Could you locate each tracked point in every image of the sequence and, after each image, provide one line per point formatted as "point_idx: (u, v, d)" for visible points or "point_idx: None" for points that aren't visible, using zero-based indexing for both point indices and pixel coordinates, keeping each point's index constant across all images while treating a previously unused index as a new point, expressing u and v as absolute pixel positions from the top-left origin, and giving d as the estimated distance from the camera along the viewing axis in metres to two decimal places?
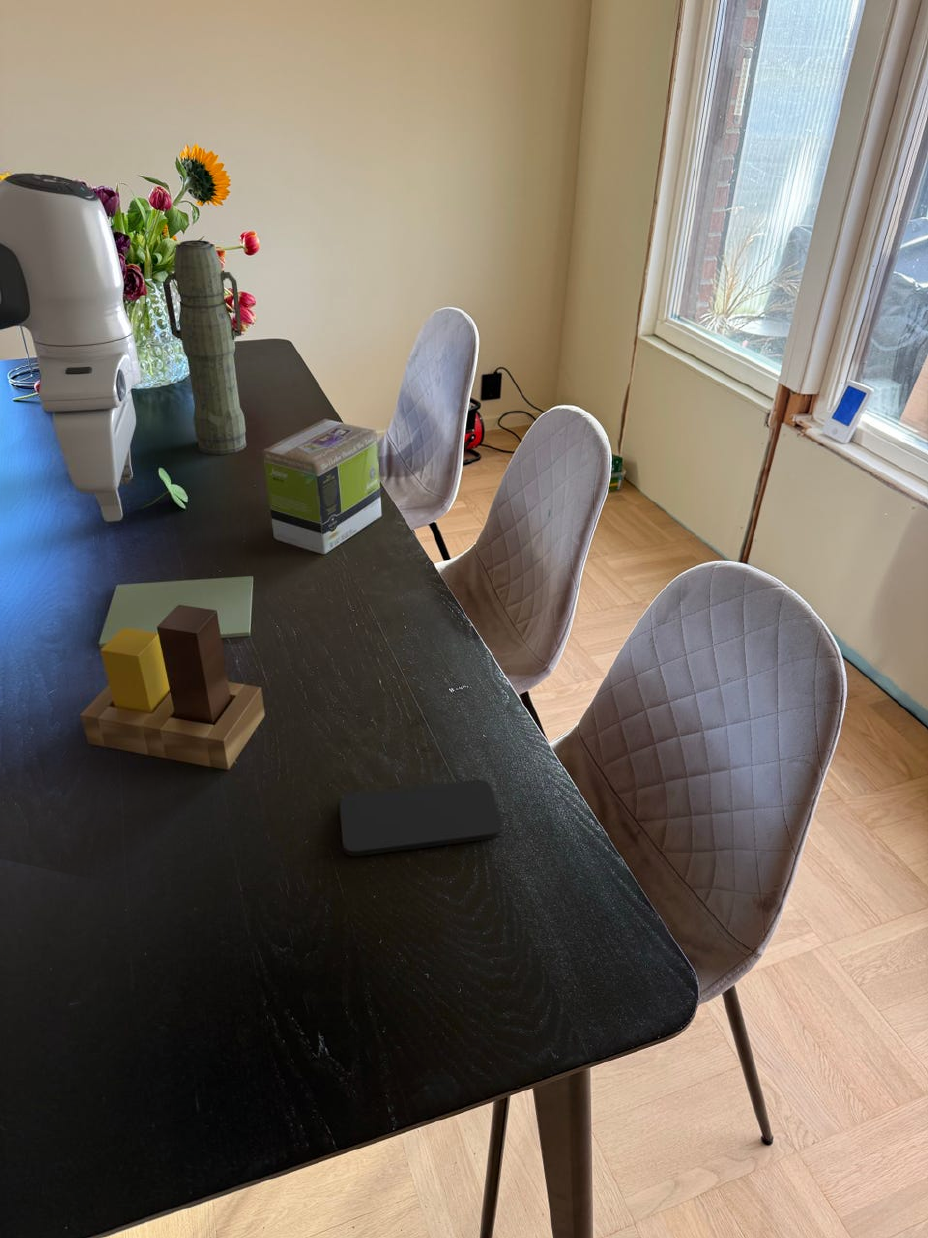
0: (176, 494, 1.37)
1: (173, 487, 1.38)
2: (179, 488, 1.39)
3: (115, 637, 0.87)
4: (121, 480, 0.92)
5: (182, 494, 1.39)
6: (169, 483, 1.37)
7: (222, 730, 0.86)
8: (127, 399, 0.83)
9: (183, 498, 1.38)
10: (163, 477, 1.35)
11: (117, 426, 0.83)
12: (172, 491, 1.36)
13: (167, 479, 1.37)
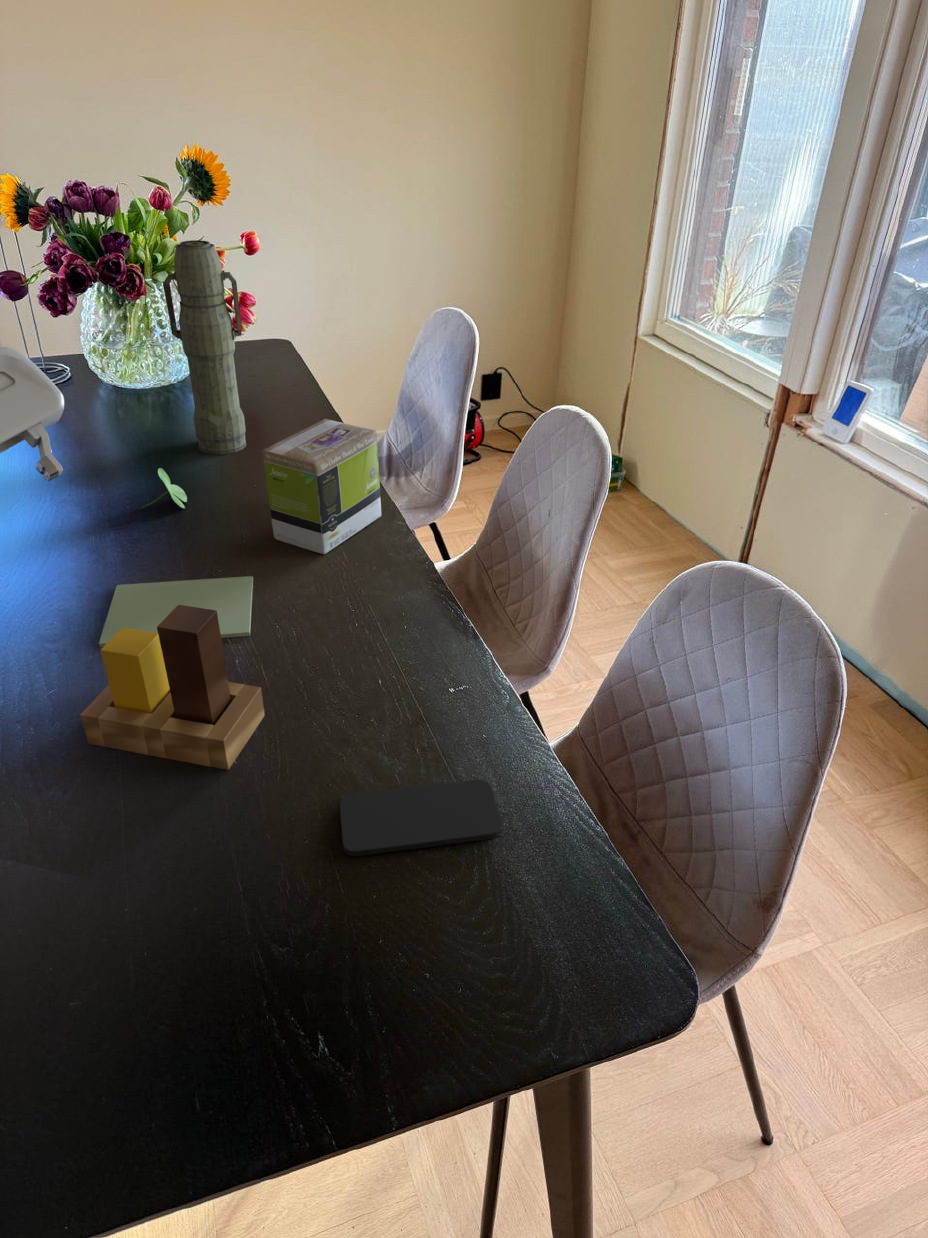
0: (175, 494, 1.37)
1: (172, 487, 1.38)
2: (178, 488, 1.39)
3: (115, 637, 0.87)
4: None
5: (182, 494, 1.39)
6: (168, 483, 1.37)
7: (222, 730, 0.86)
8: None
9: (182, 498, 1.38)
10: (162, 477, 1.35)
11: None
12: (171, 491, 1.36)
13: (166, 479, 1.36)
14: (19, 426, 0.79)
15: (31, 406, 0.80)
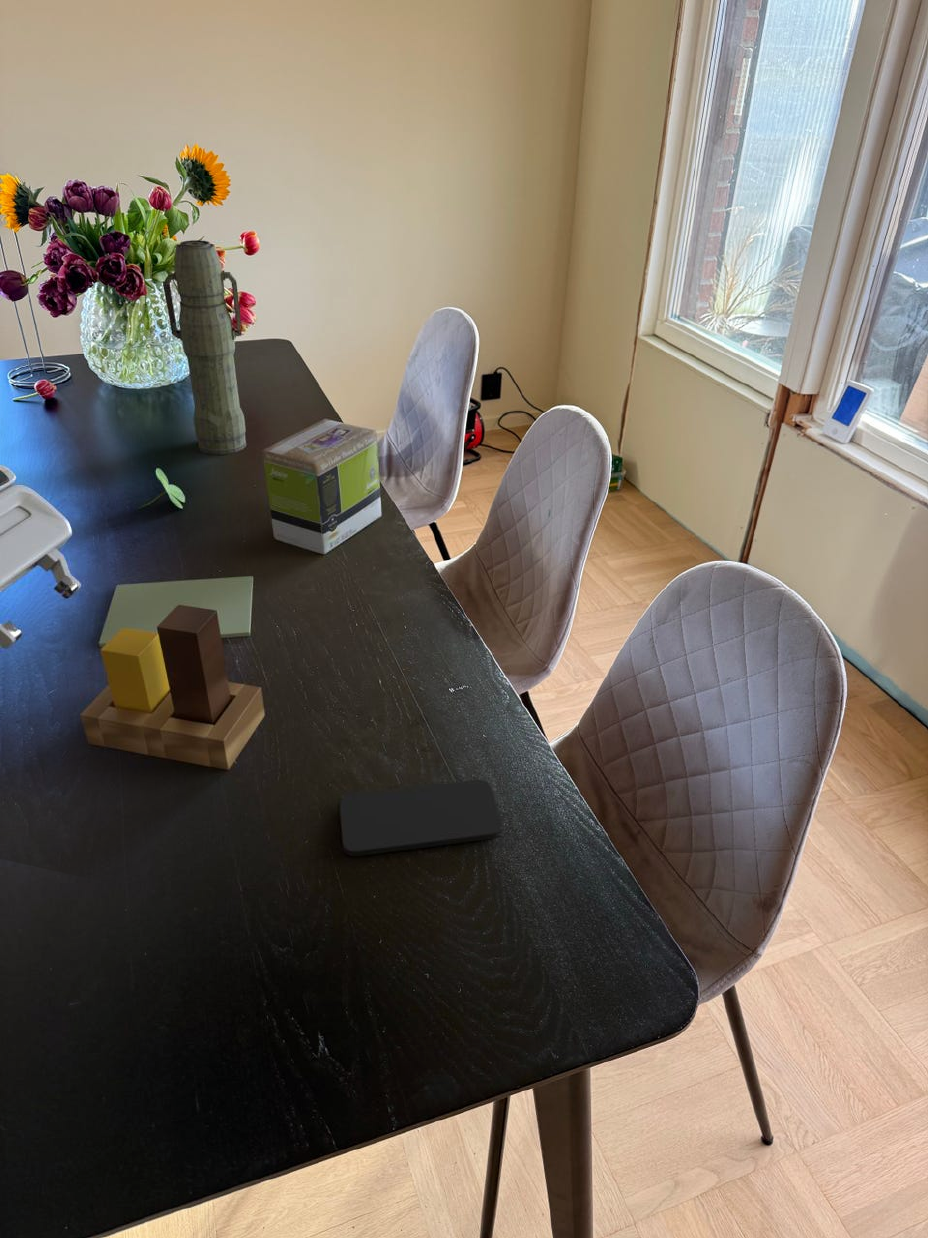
0: (173, 494, 1.37)
1: (170, 487, 1.38)
2: (176, 488, 1.39)
3: (115, 637, 0.87)
4: None
5: (180, 494, 1.39)
6: (166, 483, 1.37)
7: (222, 730, 0.86)
8: None
9: (180, 498, 1.38)
10: (160, 477, 1.35)
11: None
12: (169, 491, 1.36)
13: (164, 479, 1.36)
14: (43, 550, 0.88)
15: (48, 533, 0.89)
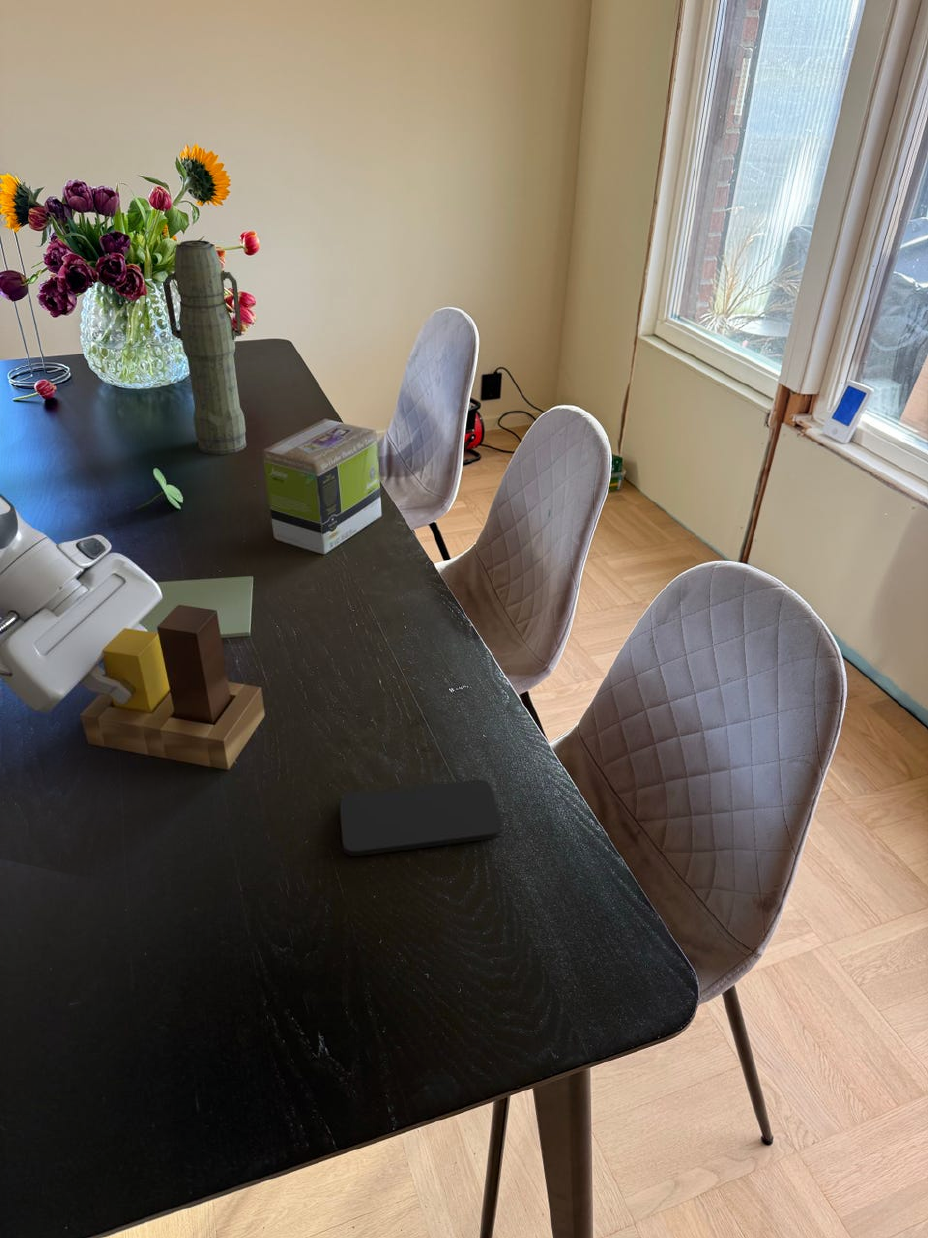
0: (171, 494, 1.37)
1: (168, 487, 1.37)
2: (174, 488, 1.39)
3: (115, 637, 0.87)
4: None
5: (177, 494, 1.39)
6: (164, 483, 1.37)
7: (222, 730, 0.86)
8: None
9: (178, 498, 1.38)
10: (158, 477, 1.35)
11: None
12: (167, 492, 1.36)
13: (162, 479, 1.36)
14: (139, 617, 0.91)
15: (142, 599, 0.92)
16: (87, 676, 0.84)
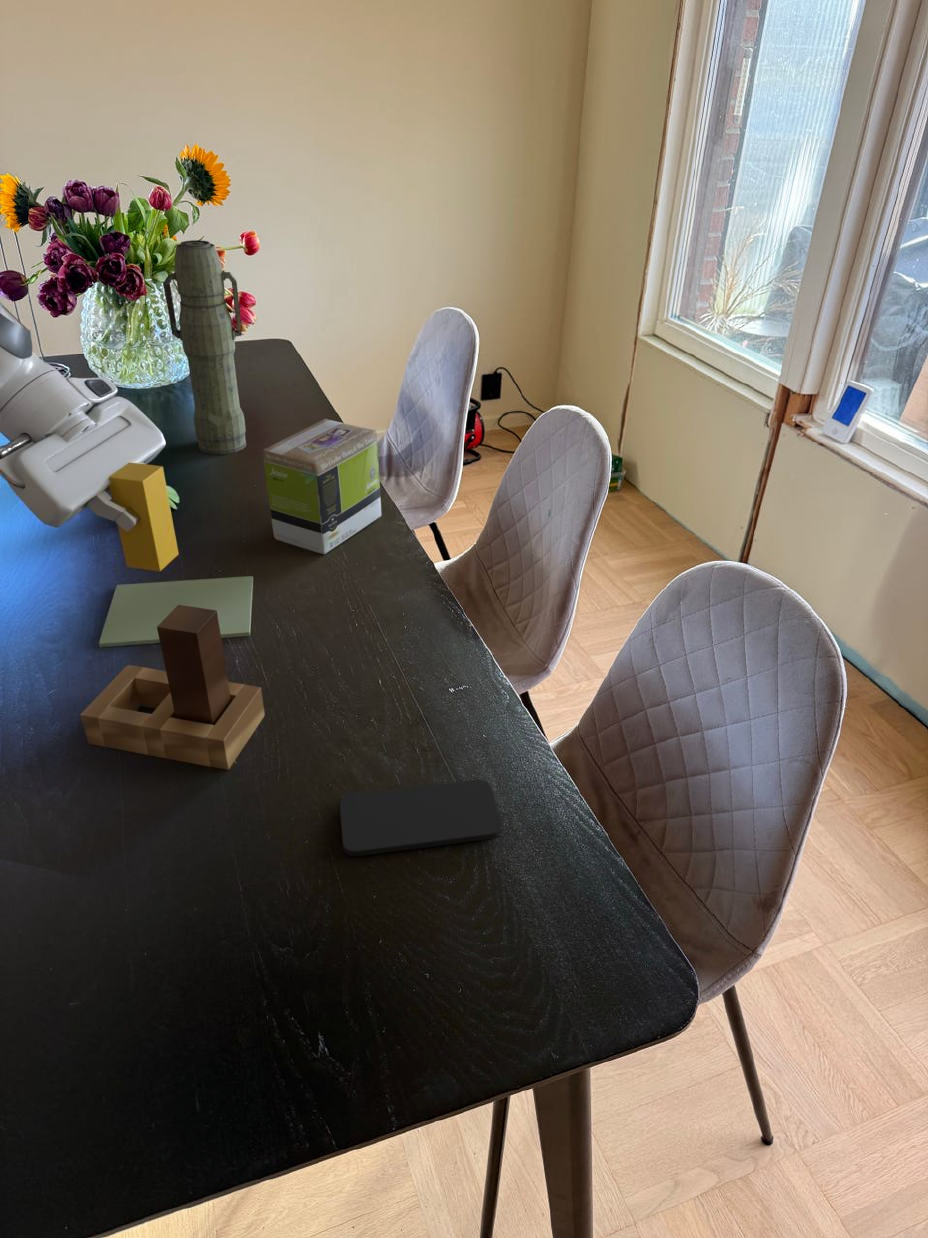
0: None
1: None
2: (171, 489, 1.39)
3: (121, 468, 0.92)
4: None
5: (174, 495, 1.39)
6: None
7: (222, 730, 0.86)
8: None
9: (175, 499, 1.38)
10: None
11: None
12: None
13: None
14: (143, 456, 0.96)
15: (146, 441, 0.98)
16: (95, 499, 0.89)
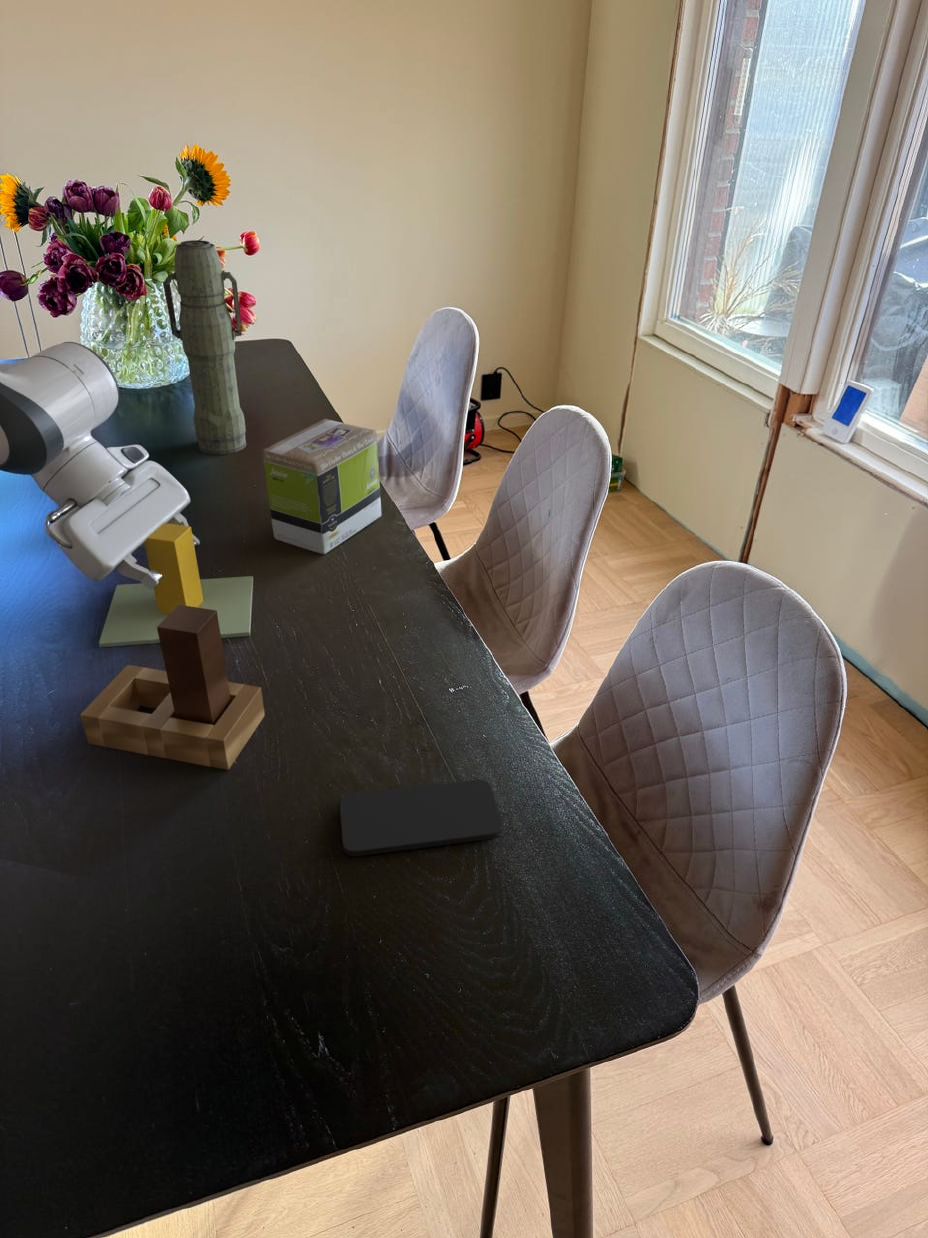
0: None
1: None
2: None
3: None
4: None
5: None
6: None
7: (222, 730, 0.86)
8: None
9: None
10: None
11: None
12: None
13: None
14: (171, 513, 1.09)
15: (174, 500, 1.10)
16: (122, 563, 1.01)
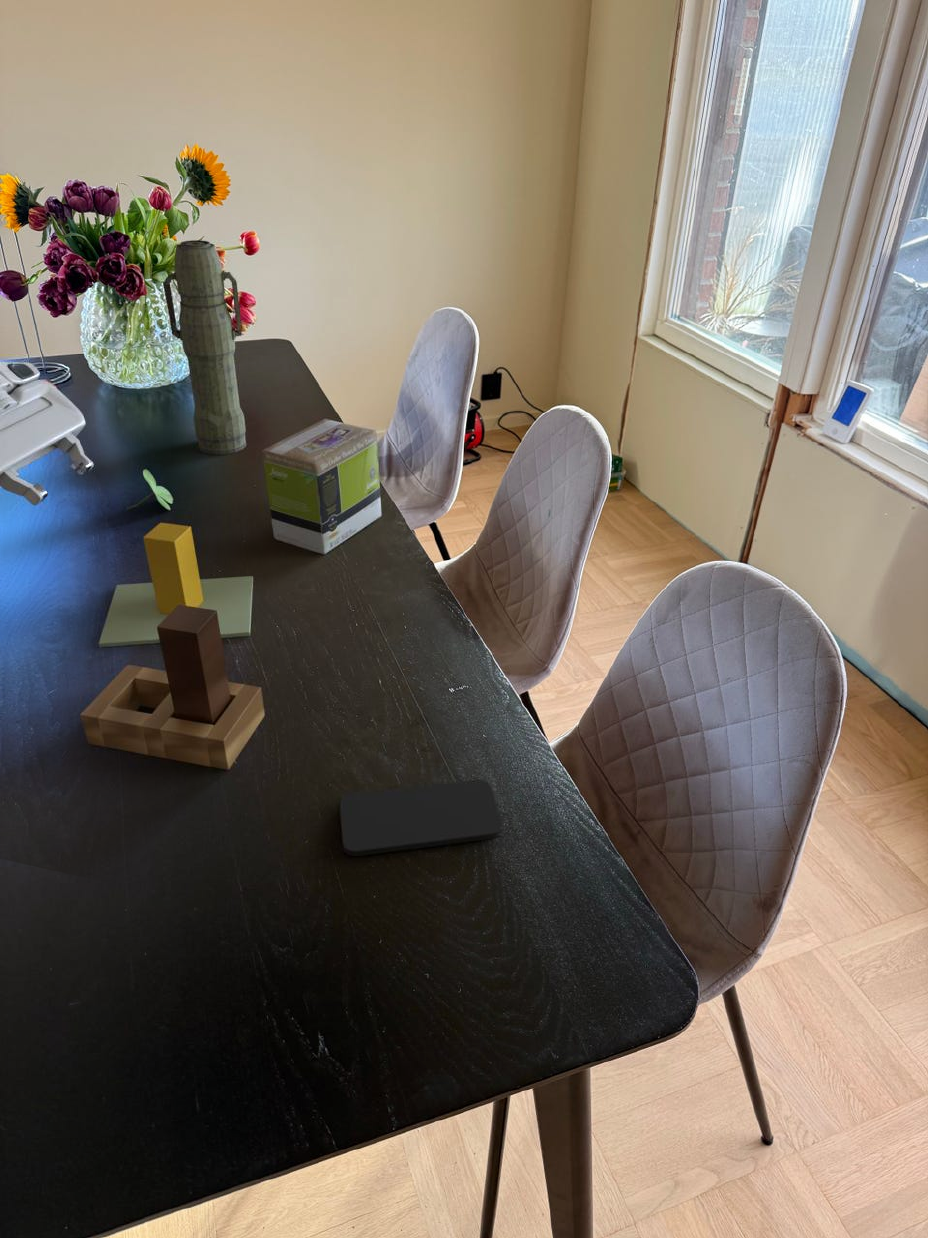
0: (161, 496, 1.37)
1: (158, 489, 1.37)
2: (164, 490, 1.39)
3: (155, 529, 1.06)
4: None
5: (167, 496, 1.38)
6: (154, 485, 1.36)
7: (222, 730, 0.86)
8: None
9: (168, 500, 1.38)
10: (148, 479, 1.35)
11: None
12: (157, 493, 1.36)
13: (151, 480, 1.36)
14: (62, 433, 1.06)
15: (66, 420, 1.08)
16: (3, 475, 0.98)
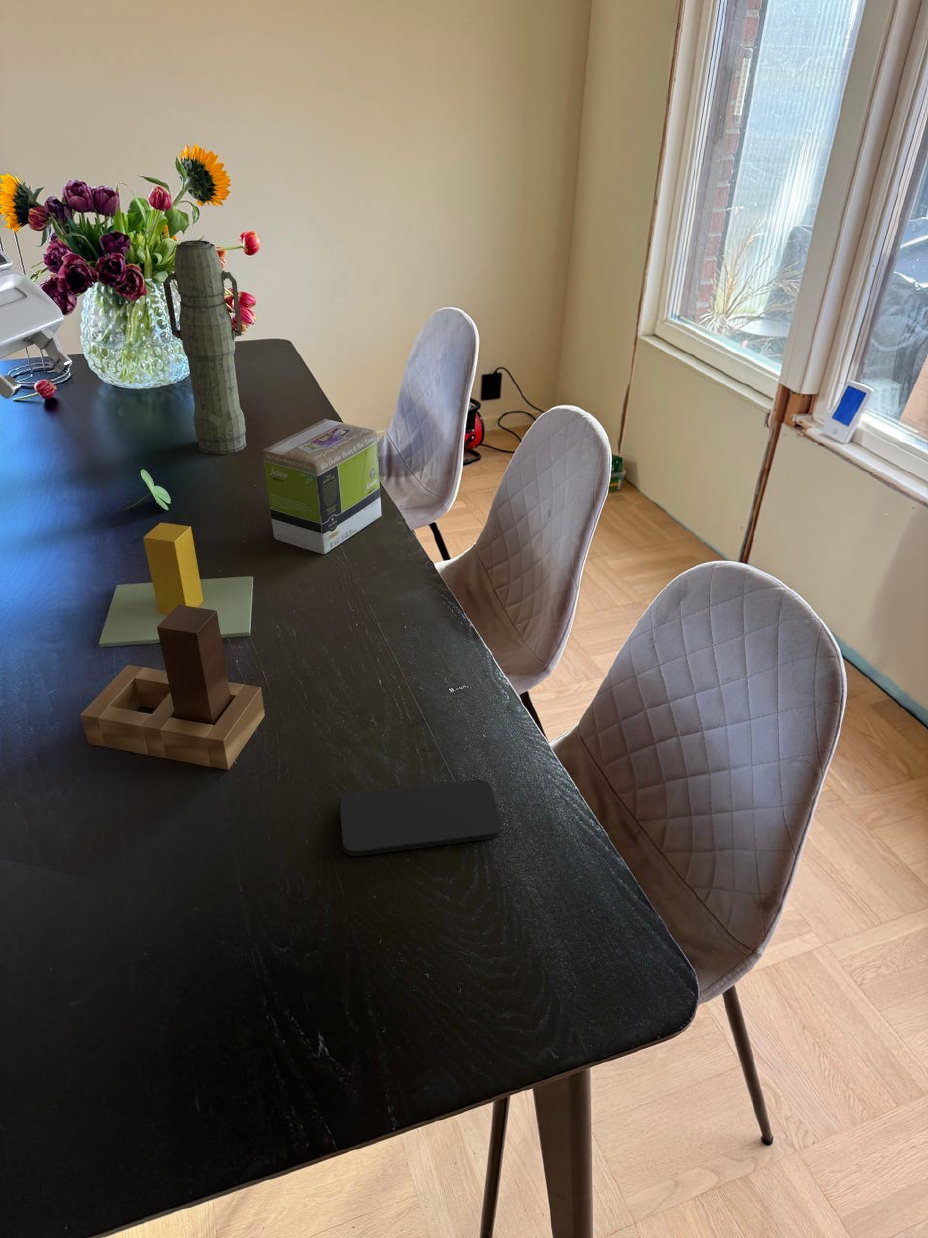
0: (159, 496, 1.36)
1: (156, 488, 1.37)
2: (162, 489, 1.39)
3: (155, 529, 1.06)
4: None
5: (165, 495, 1.38)
6: (152, 484, 1.36)
7: (222, 730, 0.86)
8: None
9: (166, 499, 1.38)
10: (145, 478, 1.35)
11: None
12: (154, 493, 1.36)
13: (149, 480, 1.36)
14: (38, 326, 0.99)
15: (42, 313, 1.01)
16: None
